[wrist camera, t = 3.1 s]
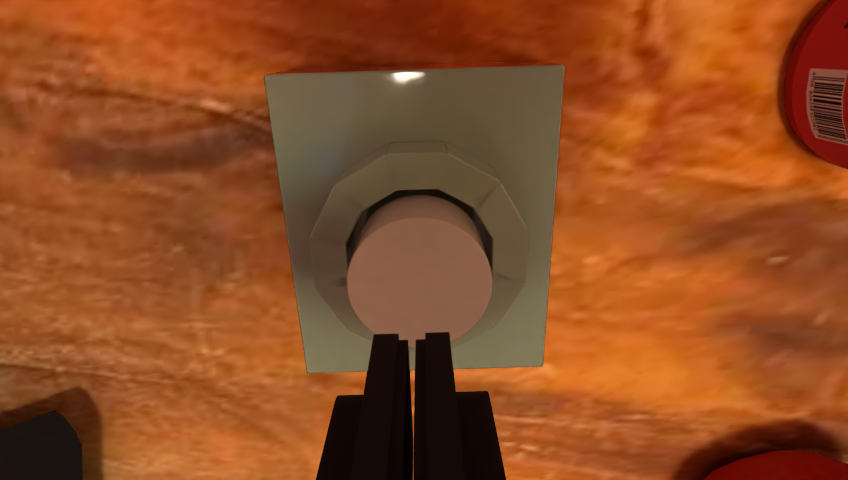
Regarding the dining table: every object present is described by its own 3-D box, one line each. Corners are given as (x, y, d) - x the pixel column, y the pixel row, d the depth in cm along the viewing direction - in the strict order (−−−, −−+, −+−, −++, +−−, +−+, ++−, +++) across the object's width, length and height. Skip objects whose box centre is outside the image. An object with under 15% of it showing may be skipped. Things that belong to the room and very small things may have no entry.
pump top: (350, 196, 16) (339, 219, 14) (484, 191, 16) (494, 215, 14) (361, 312, 18) (352, 350, 15) (482, 309, 18) (491, 346, 15)
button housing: (292, 68, 20) (241, 78, 14) (538, 61, 20) (585, 67, 14) (324, 323, 24) (294, 406, 19) (524, 317, 24) (555, 399, 19)
